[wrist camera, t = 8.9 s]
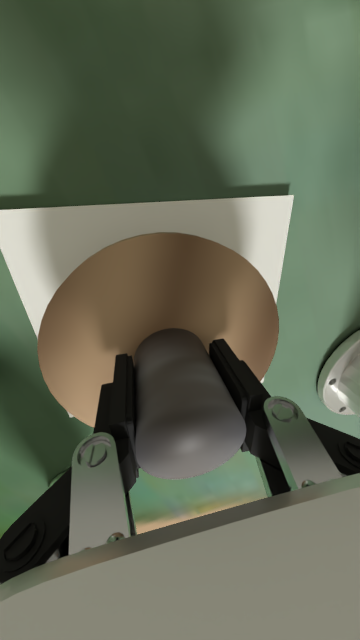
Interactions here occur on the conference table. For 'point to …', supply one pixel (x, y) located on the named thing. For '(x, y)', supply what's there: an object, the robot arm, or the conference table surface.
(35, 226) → the mat
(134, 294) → the lid
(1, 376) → the conference table surface
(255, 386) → the robot arm
